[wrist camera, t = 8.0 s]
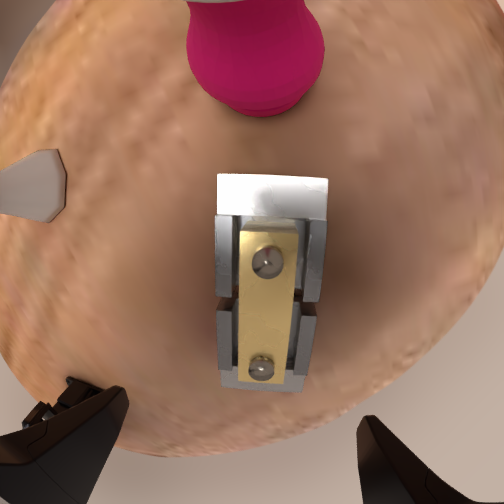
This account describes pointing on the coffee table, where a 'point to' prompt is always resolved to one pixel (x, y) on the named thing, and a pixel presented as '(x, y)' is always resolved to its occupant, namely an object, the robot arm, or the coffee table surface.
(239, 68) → the pepper mill
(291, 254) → the link bar
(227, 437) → the coffee table surface
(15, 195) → the flask
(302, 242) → the grey metal base
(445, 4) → the coffee table surface
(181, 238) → the coffee table surface
